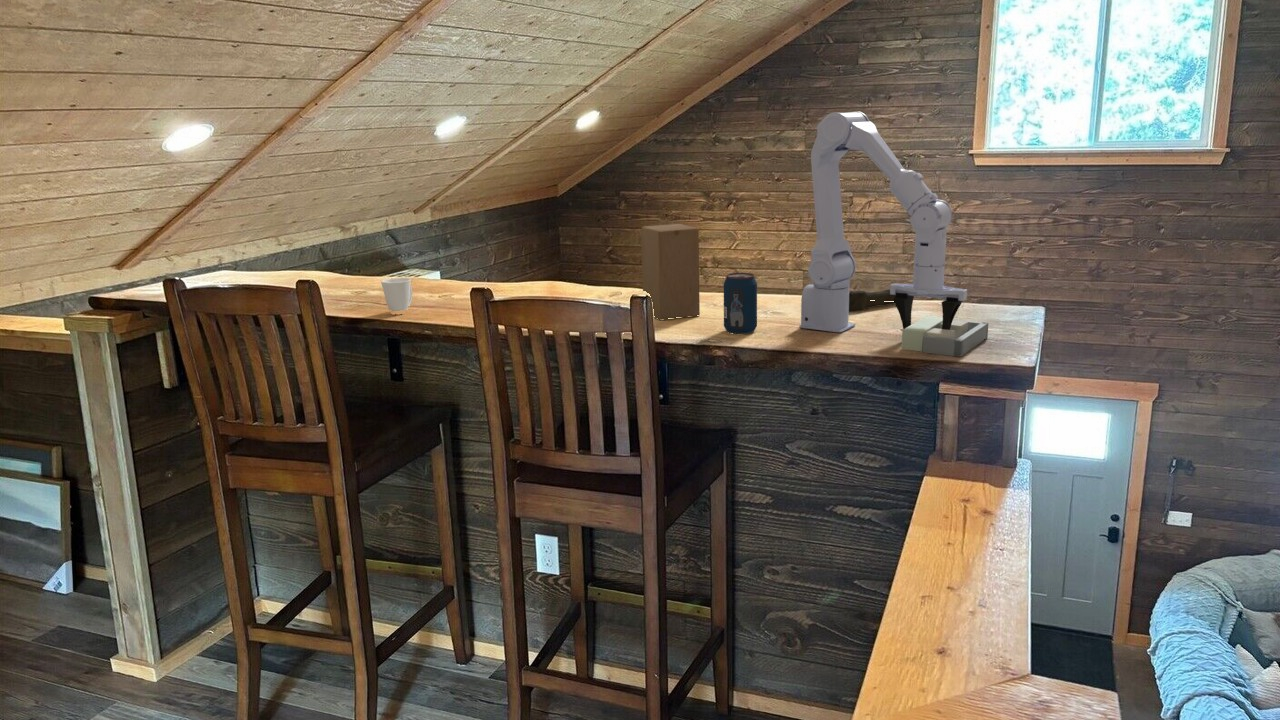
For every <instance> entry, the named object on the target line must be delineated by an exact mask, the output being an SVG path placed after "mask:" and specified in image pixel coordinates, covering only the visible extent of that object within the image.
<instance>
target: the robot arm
mask: <svg viewBox="0 0 1280 720" xmlns="http://www.w3.org/2000/svg"><path fill="white" fill-rule="evenodd" d="M850 149H851V150H856V151H861V152H863V153H864V154H866V156H868V158H869V159H870V160H871V161H872V163H874V164H875V165H876V166H877V168H878V169H879V170H880V171H881V172H882V173H883V174H884V176H885V177H886V178H887V179H888V181H889V191H890V192H891V194H892V195H893V196H894V197H895V199H896V200H897V202H899V203H900V205H901V206H902V207H903V208H904V210H905V211H906V212H907V213H908V216H911V217H910V218H909V222H910V225H911V228H912V229H913V230H914V232H915V240H914V259H913V277H912V283H896V282H895V283H892V284H890V288H889V290H890V294H891V295H896V296H895V298H893V301H894V303H895V304H894V305H895V307H896V310H897V311H898V313H899V314H898V315H899V316H900V321H901V325H902V330H903V329H905V328H907V327H908V326H910V325H912V309H913V303H914V297H922V298H923V297H924V298H932V299H933V298H934V299H944V300H943V301H941V310H942V318H943V324H942V329H946V330H950V327H951V324H952V321H953V319H955V317H956V313H957V312H958V310H959V308H960V306H961V305H962V303H963V302H964V301H966V300H967V299H968V289H964V288H957V287H952V286H945V284H944V283H945V269H946V268H945V267H946V266H945V265H946V254H947V253H946V250H947V249H946V248H947V230H948V229H947V228H948V227H949V226H950V224H951V223H952V220H953V211H952V209H951V207H950V205H949V203H948V202H947V201H946V200H943V199H939V196H938V194H937V193H933V192H932V190H931V189H930V188H929V187H928V186H927V185H926V183H925V182H924V181H923V179H924V176H923V175H922V174H921V173H920V172H916V171H914V170H912V169H905V168H904V167H903V165H902V164H901V163H900V161H899V159H898V158H897V157H896V156H895V154H894V153H893V151H892V150H891V147H889V145H888V144H887V143H886V142H885V140H884V139H883V138H882V136H881V134H880V133H879V131H878V130H877V126H876V124H875V123H873V122H872V121H870V119H869V117H868V115H867V114H865V113H863V112H862V111H858V110H855V111H851V112H848V111H847V112H839V111H838V112H836V111H835V112H830V113H829V114H827V115H825V117H824V118H823V119H822V120H821V121H820V122H819V123H818V124H817V125H816V138H815V140H814V143H813V147H812V149H811V151H810V163H811V177H812V186H813V187H812V188H813V190H812V191H813V200H814V201H813V202H814V203H813V204H814V214H815V227H816V228H815V229H816V242H815V244H814V246H813V247H812V250H811V251H810V263H809V265H808V269H807V271H808V272H807V273H808V277H809V280H810V281H811V284H807V285H805V287H804V288H803V290H802V294H801V299H800V300H801V303H800V304H801V305H800V307H801V308H800V325H799V328H800V329H807V330H813V331H821V332H822V331H824V332H833V333H843V332H845V331H847V330H849V329H851V328H853V327H855V326H856V322H849V318H850V317H849V313H850V312H849V292H850V284H851V279H852V278H853V277H854V276H855V273H856V270H857V264H856V259H855V258H854V256H853V255H852V251H851V250H852V249H851V245H850V243H849V242H848V241H847V240H846V239H845V233H844V232H845V231H844V221H843V207H842V205H843V203H842V193H841V192H842V191H841V178H840V166H839V162H840V160H842V158H843V157H844V155H846V154H847V152H849V150H850Z"/></svg>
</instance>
